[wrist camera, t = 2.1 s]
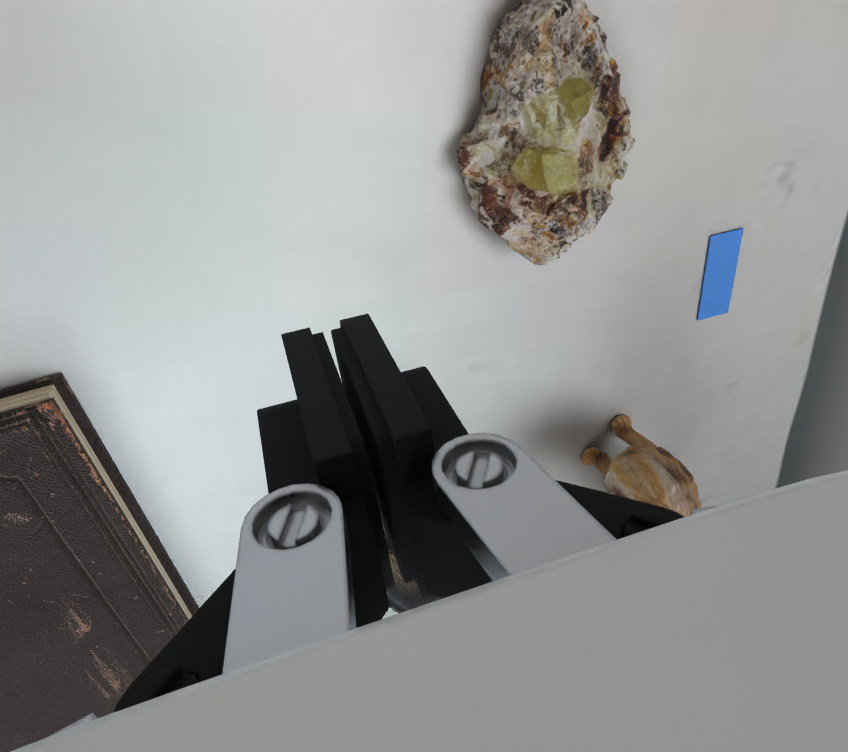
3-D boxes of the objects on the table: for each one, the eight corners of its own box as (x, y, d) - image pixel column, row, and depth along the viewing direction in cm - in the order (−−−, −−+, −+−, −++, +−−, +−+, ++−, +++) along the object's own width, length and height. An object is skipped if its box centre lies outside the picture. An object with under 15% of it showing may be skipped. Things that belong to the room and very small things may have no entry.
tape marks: (790, -277, 22) (792, -278, 22) (836, -280, 22) (838, -281, 22) (696, 319, 35) (697, 320, 35) (726, 311, 35) (727, 312, 35)
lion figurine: (528, 444, 36) (613, 559, 29) (595, 379, 35) (701, 481, 28) (645, 534, 44) (735, 641, 37) (702, 483, 43) (806, 583, 36)
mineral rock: (654, 240, 28) (520, 296, 25) (583, 221, 32) (457, 269, 28) (674, -40, 23) (505, -14, 19) (586, -28, 26) (429, -4, 23)
